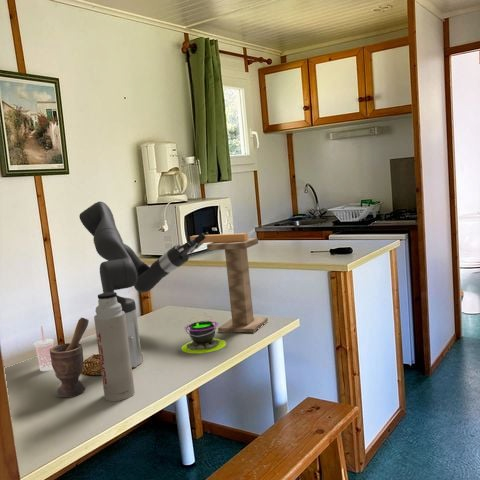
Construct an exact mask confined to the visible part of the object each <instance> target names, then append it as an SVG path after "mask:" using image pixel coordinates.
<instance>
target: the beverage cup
mask: <svg viewBox="0 0 480 480" xmlns="http://www.w3.org/2000/svg"><path fill="white" fill-rule="evenodd" d="M40 331H41V338H42V339H39V340H37V341H34V342H33V347H34V349H35V353H36V357H37V361H38V366H39V370H40V372H49V371H52V370H54V369H53V367H52V363H51V356H50V349H51V348H53V347H54V343H55V342H54V341H55V340H54V338H45V336H44V329H43V326H40Z"/></svg>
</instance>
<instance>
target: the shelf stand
mask: <svg viewBox="0 0 480 480" xmlns="http://www.w3.org/2000/svg"><path fill="white" fill-rule="evenodd" d="M257 244H259V238H258V237H251V238H249V237H248V240H246V241H233V242H210V243H207V244H206V249H207V251H221V250H223V251H224V253H225V264H226V265H225V266H226V274H227V275H226V276H227V282H228V293H229V301H230V302H229V304H230V312H231V315H230V316H231V318H230V319H229V320H228V321H226V322H225V323H223V324H222V325H221V326H219V327H218V328H217V331H218V333H232V332H255V331H256V330H257V329H258V328H260V327H261V326H262V325H263V324H264V323H266V322H267V321H268V317H254V309H253V302H252V301H253V297H252V288H251V280H250V279H251V278H250V270H249V259H248V248H250V247H253V246H256V245H257ZM268 322H269V321H268ZM268 322H267V323H268ZM267 323H266V324H267ZM263 326H264V325H263ZM263 326H262V327H263ZM262 327H261V328H262ZM261 328H260V329H261ZM257 331H258V330H257ZM257 331H256V332H257ZM256 332H255V333H256Z"/></svg>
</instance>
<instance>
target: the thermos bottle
mask: <svg viewBox="0 0 480 480" xmlns="http://www.w3.org/2000/svg"><path fill="white" fill-rule="evenodd" d="M117 295H118V294H117V292H116V291H114V292H107V293H103V292H102V293H100V294H97V301H98V305H97V306H96V307H95V315H94V317H93V321H94V327H95V335H96V336H95V337H96V341H97V351H98V357H99V365H100V373H101V380H102V386H103V394H104V399H105V401H110V402H119V401H124V400H127V399H129V398H131V397H133V396H134V395H135V393H136V392H135V383H134V376H133V375H134V374H133V369H132V367H131V360H130V350H129V342H128V334H127V326H126V318H125V312H124V311H122V307H121V304H120V303H118V302H117V298H116V296H117Z"/></svg>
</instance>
